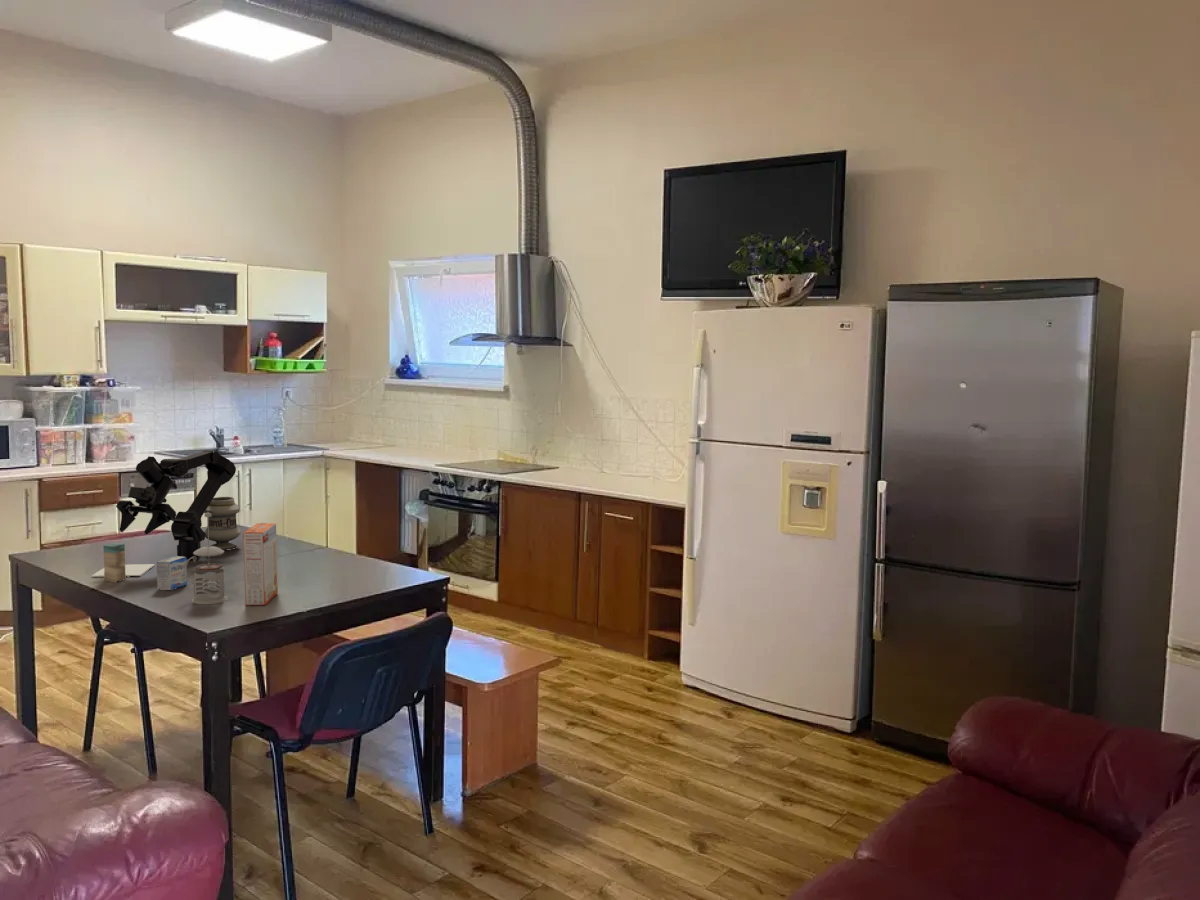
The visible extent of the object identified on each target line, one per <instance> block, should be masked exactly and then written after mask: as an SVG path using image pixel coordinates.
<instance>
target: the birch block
mask: <svg viewBox="0 0 1200 900" xmlns="http://www.w3.org/2000/svg"><path fill="white" fill-rule="evenodd" d="M125 547H126V546H125V543H119V542H118V543H116V542H113V543H108V544H105V545H103V568H104V582H106V581H111V582H110V583H115V582H116V583H118V582H117V581H119V582H121V581H120V580H122V581H124V580H123V579H126V578H127V577H125V565H126V548H125Z"/></svg>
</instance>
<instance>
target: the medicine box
mask: <svg viewBox="0 0 1200 900" xmlns="http://www.w3.org/2000/svg"><path fill="white" fill-rule="evenodd" d="M186 561H187V560H186V557H182V556H177V555H176V556H171V557H167V558H165V559H161V560H159V561H156V578H157V580H156V581H157V590H158V589H160V590H159V591H165V590H172V589H175V588H177V589H179V588H178V587H180V588H181V586H182V587H184V585H185V586H187V585H188V580H187V579H188V576H187V574H188V572H187V573H186V565H185V563H186ZM184 565H185V575H186V577H187V579H186V577H185V575H184ZM175 590H176V589H175ZM172 591H173V590H172Z"/></svg>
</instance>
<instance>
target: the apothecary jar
mask: <svg viewBox="0 0 1200 900" xmlns="http://www.w3.org/2000/svg"><path fill="white" fill-rule="evenodd" d="M208 512H209V513H211V514H212V517H209V541H212V542H215V543H213V544H211V545H210V546H214V547H218V548H220V549H222V550H227V549H233V548H236V547H237V548H238V546H237V545H236V544H233V543H232V542H230V541H234V540H235V539H238V538H239V536H241V534H242V533H241V528H240V527H239V526H237V514H238V513H239V512H240V506H239V505H238V504H237V503H236V502H235V498H234V497H233V496H217V497H215V496H214V498H213V499H212V501H211V503H210V504H209V506H208V507H207V509H206V511H205V512H204V514H205V513H208ZM206 518H207V527H206V528H205V530H203V531H204V532H205V534H206V535H205V539H207V540H208V517H206ZM237 548H236V549H237Z"/></svg>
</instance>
